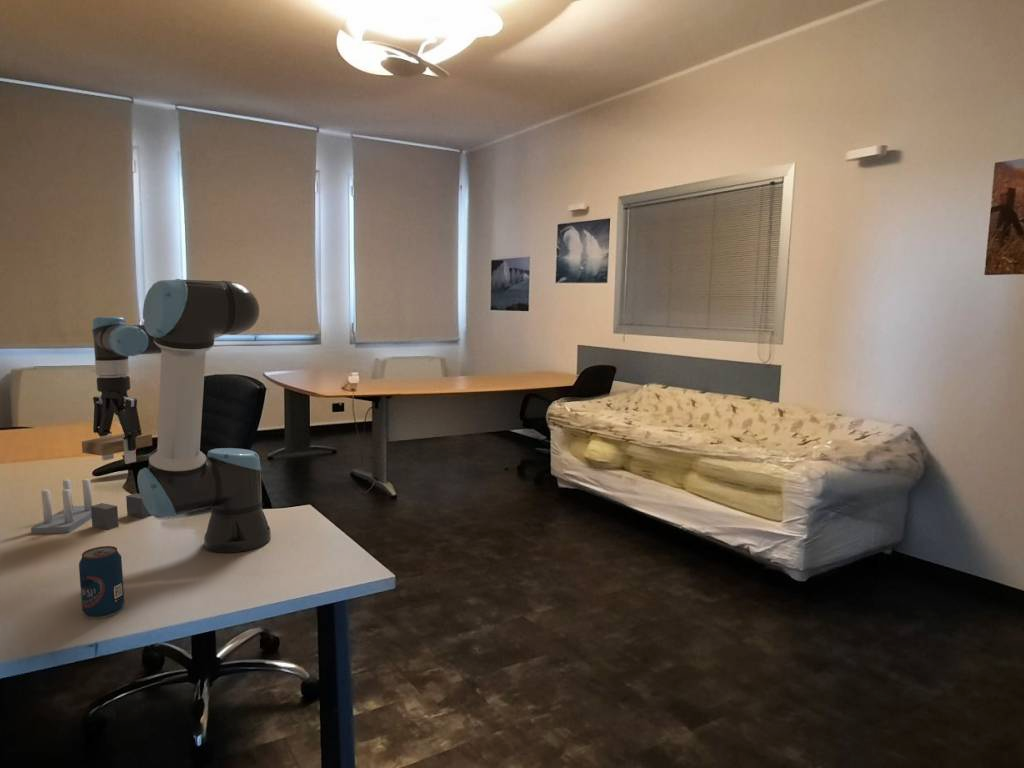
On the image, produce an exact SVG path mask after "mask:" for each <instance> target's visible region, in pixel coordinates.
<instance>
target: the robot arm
mask: <svg viewBox="0 0 1024 768" xmlns="http://www.w3.org/2000/svg"><path fill="white" fill-rule="evenodd" d="M259 316H260V305H259V302H258V299H257V298H256V296H255V294H254V293H253V292H252V291H251V290H250V289H248V288H247V287H246V286H244V285H242V284H240V283H238V282H234V281H229V280H207V279H206V280H204V279H201V280H200V279H198V280H197V279H181V278H175V279H163V280H158V281H156V282H155V283H153V284H152V285H151V286H150V288H149V289H148V290H147V293H146V294H145V298H144V302H143V308H142V319H143V320H144V321H143V324H127V322H126V318H125V317H124V316H96V317H94V318H93V319H92V329H91V332H92V338H93V350H94V364H95V365H94V367H95V375H96V376H98V377H97V378H96V390H97V391H98V392H100V393H101V395H97V396H93V398H92V399H93V423H92V424H93V430H92V431H93V433H94V434H96V433H97V434H98V436H99V438H103V437H108V436H113V434H112V433H113V432H112V431H111V429H112V424H113V420H114V416H115V415H116V417H117V418H118V421H119V423H120V426H121V429H122V432H123V433H124V435H125V437H124V438H123V444H124V451H123V455H124V457H123V458H124V464H127V465H128V464H131V463H136V462H137V455H136V454H137V453H136V450H137V449H136V437H137V436H140V435H141V434H142V433H143V432H142V429H141V423H140V417H139V412H138V407H137V406H138V400H137V398H131V397H129V395H128V391H129V390H131V378H130V376H129V374H130V363H129V357H136V356H138V355H154V354H155V355H156V354H158V355H159V354H160V375H159V376H160V377H159V378H160V379H159V397H158V399H159V401H158V422H157V423H158V425H157V427H158V428H157V448H156V451H154V452H153V453H152V454H150V455H149V458H148V467H143V468H142V469H139V471H138V473H137V476H136V477H137V487H138V492H139V494H140V496H141V498H142V501H143V503H144V506H145V507H146V509H147V511H148V512H149V513H150V514H151V516H152V517H154V518H156V519H163V518H169V517H176V516H178V515H183V514H187V513H191V512H196V511H200V510H204V509H209V508H210V517H209V520H208V524H207V529H206V532H205V535H204V541H203V542H204V543H203V544H204V548H205V549H206V550H208V551H210V552H214V553H222V554H226V553H227V554H230V553H241V552H246V551H250V550H255V549H258V548H261V547H262V546H265V545H266V544H267V543H269V542H271V541H270V540H271V537H272V536H271V535H272V534H271V527H270V526H269V523H268V520H267V518H266V515H265V513H264V509H263V502H262V501H263V500H262V499H263V497H262V495H263V494H262V474H261V473H262V467H261V461H260V455H259V454H258V453H257V452H256V451H254V450H250V449H245V448H238V447H237V448H234V447H227V448H226V447H224V448H223V447H221V448H218V447H217V448H213V449H210V450H209V449H208V451H207V454H205V453H203V451H201V450H200V449H201V438H202V437H201V436H202V435H201V434H202V433H201V432H202V419H203V418H202V417H203V404H204V403H203V401H204V389H205V388H204V383H205V372H206V371H205V369H206V354H207V352H208V351H209V350H211V349H212V348H213V347H214V346H215V339H217V338H220V337H222V336H225V335H230V336H231V335H235V336H236V335H239V334H241V333H244V332H247V331H248V330H250V329H252V328H253V327H254V325H255V324H256V323H257V321H258V320H259ZM129 432H130V434H129ZM114 458H115V457H114V454H109V455H105V456H101V459H102V461H103V462H104V461H108V460H109V461H110V460H113V459H114Z"/></svg>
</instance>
